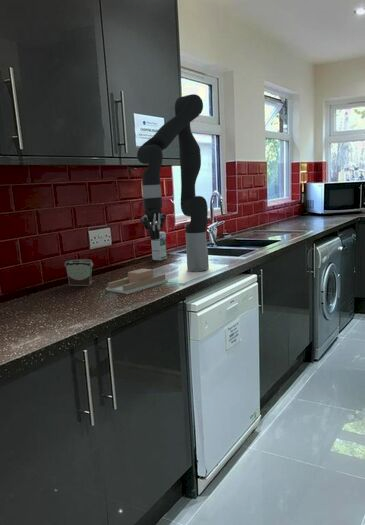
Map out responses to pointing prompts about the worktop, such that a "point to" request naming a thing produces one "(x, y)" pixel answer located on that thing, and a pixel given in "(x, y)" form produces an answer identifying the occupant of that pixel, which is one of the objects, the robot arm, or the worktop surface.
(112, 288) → the chute
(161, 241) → the white pill bottle
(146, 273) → the block
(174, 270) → the worktop surface
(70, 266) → the food container
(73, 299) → the worktop surface
